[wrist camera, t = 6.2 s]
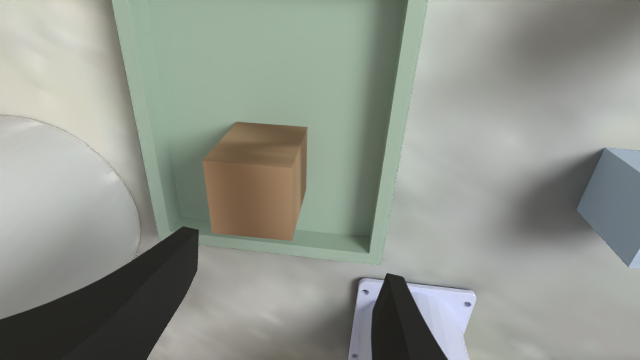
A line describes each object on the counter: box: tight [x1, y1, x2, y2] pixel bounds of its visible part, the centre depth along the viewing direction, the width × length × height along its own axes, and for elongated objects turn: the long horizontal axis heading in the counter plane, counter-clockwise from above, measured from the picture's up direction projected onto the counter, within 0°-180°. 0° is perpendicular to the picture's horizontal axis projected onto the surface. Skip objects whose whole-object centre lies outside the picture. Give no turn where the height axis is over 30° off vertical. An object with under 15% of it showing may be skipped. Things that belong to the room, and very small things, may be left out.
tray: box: [112, 0, 428, 265], centre depth 20 cm, size 16×14×2 cm
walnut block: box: [203, 122, 308, 241], centre depth 19 cm, size 4×4×5 cm
